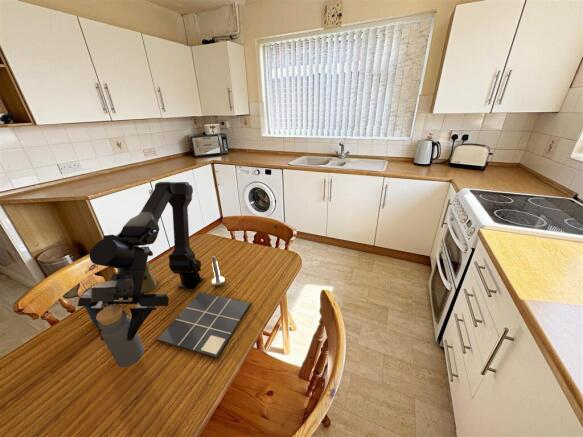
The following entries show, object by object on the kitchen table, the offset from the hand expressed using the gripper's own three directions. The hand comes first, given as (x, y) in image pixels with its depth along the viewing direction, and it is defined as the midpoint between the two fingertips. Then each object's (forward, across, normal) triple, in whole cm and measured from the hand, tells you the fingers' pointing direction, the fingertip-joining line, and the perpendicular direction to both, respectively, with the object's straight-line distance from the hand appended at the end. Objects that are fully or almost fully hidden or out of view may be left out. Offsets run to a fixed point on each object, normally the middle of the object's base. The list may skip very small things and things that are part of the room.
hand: (116, 340), depth 54 cm
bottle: (+4, 0, +6) cm, 8 cm away
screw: (-14, +11, +34) cm, 38 cm away
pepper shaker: (-14, -16, +33) cm, 39 cm away
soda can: (-3, -20, +22) cm, 30 cm away
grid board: (-2, +13, +22) cm, 25 cm away
